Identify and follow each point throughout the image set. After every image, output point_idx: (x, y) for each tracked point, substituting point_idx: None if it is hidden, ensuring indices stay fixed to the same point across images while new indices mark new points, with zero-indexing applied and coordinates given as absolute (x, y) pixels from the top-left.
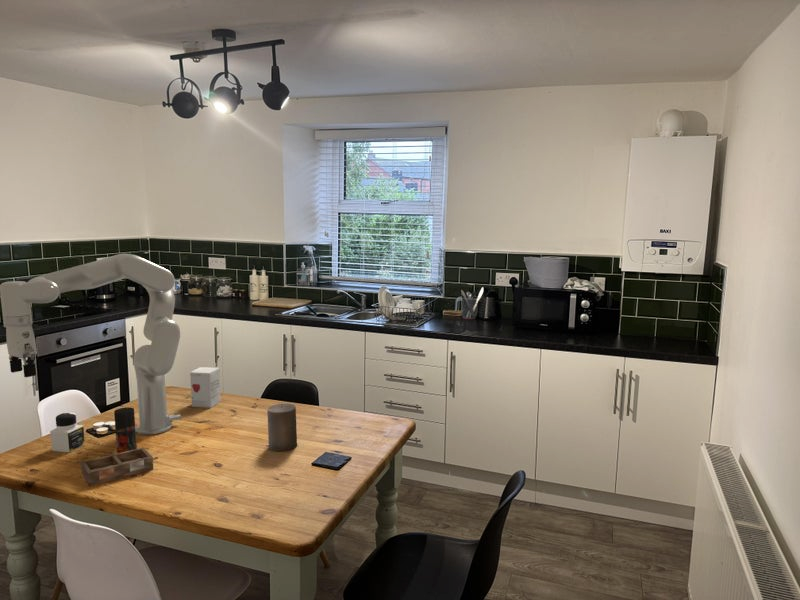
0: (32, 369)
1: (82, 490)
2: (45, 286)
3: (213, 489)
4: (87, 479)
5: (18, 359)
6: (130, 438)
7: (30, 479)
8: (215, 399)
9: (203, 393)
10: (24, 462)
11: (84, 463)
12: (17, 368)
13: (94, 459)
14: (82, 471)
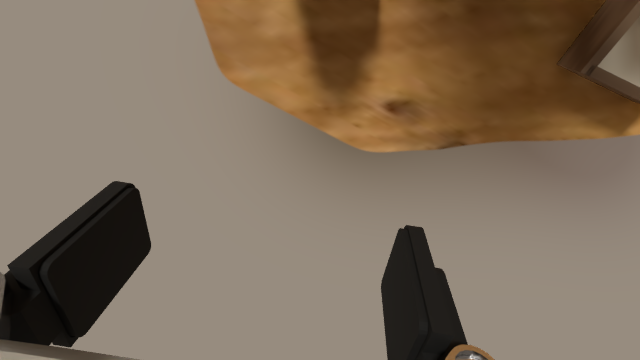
0: (446, 305)
1: (627, 122)
2: None
3: None
4: (627, 97)
5: (45, 290)
6: None
7: (439, 141)
8: None
9: None
10: (325, 89)
11: (601, 73)
12: (128, 234)
13: (617, 36)
14: (576, 72)
